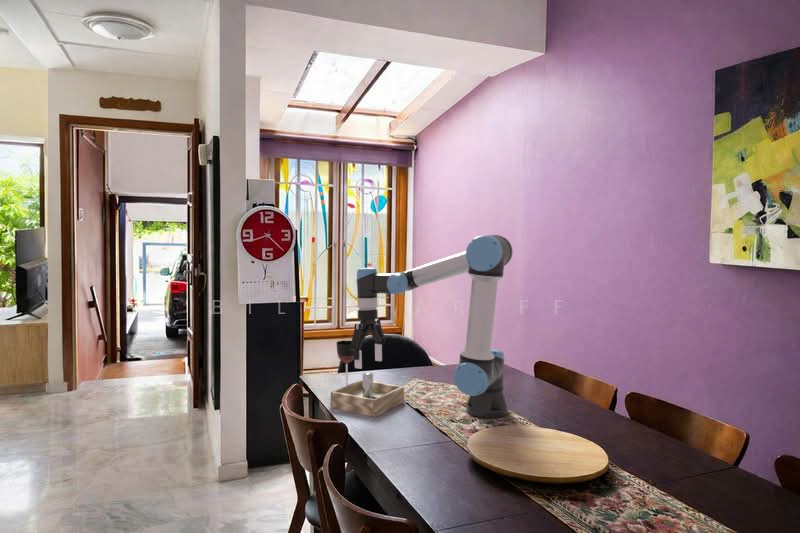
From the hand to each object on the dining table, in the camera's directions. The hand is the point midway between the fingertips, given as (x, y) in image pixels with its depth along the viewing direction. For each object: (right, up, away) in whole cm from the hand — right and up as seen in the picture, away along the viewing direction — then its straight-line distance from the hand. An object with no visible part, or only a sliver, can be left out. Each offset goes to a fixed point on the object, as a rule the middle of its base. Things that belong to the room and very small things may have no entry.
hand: (368, 364), depth 200 cm
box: (0, -16, +1) cm, 16 cm away
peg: (0, -16, +1) cm, 16 cm away
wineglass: (-10, -15, +21) cm, 28 cm away
